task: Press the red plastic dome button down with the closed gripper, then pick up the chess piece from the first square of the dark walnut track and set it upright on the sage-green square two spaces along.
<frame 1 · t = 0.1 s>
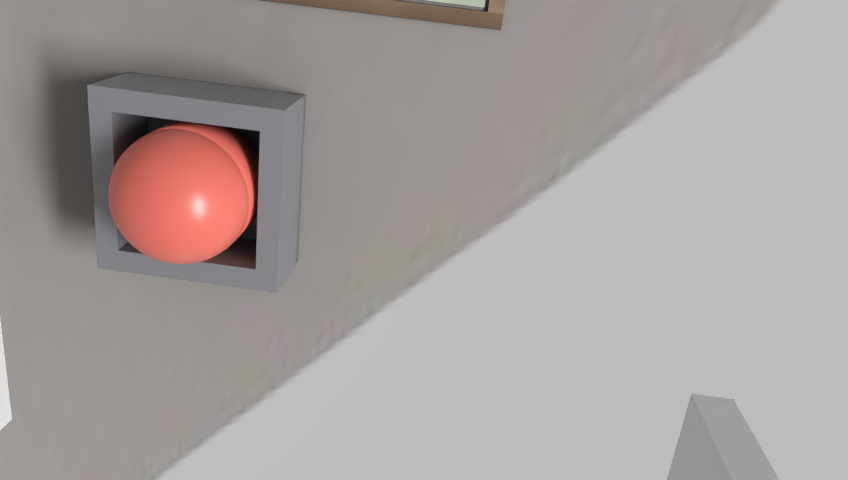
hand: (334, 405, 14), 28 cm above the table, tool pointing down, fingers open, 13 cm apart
dome: (182, 196, 37), point 5 cm above the table, slide at 0.0 cm
dome housing: (216, 170, 42), on the table
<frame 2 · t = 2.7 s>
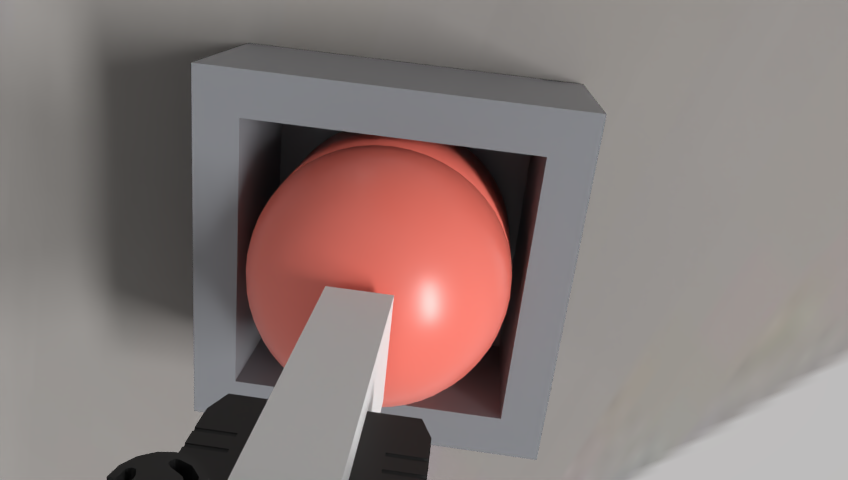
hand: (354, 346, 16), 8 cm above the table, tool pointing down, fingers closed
dome: (380, 273, 19), point 4 cm above the table, slide at 0.8 cm, touching gripper
dome housing: (398, 221, 23), on the table
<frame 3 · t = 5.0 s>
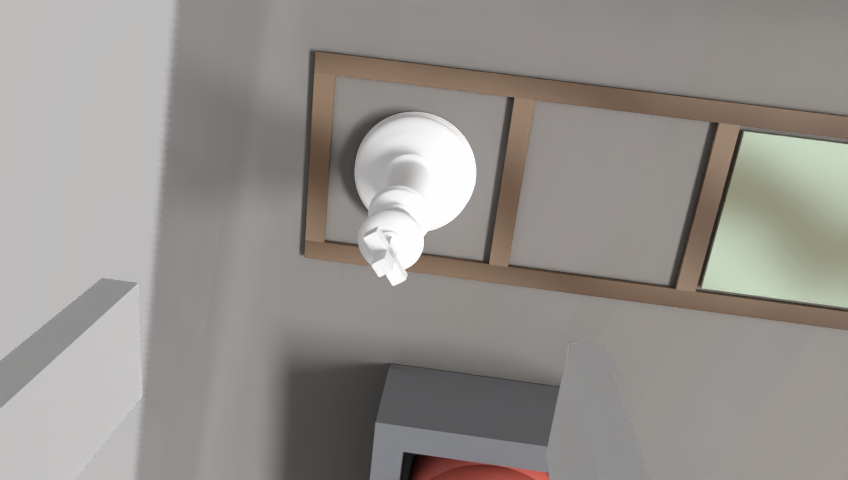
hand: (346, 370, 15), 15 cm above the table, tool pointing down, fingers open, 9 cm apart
track: (607, 196, 29), on the table
chess piece: (415, 170, 30), on the table
dome housing: (484, 469, 34), on the table
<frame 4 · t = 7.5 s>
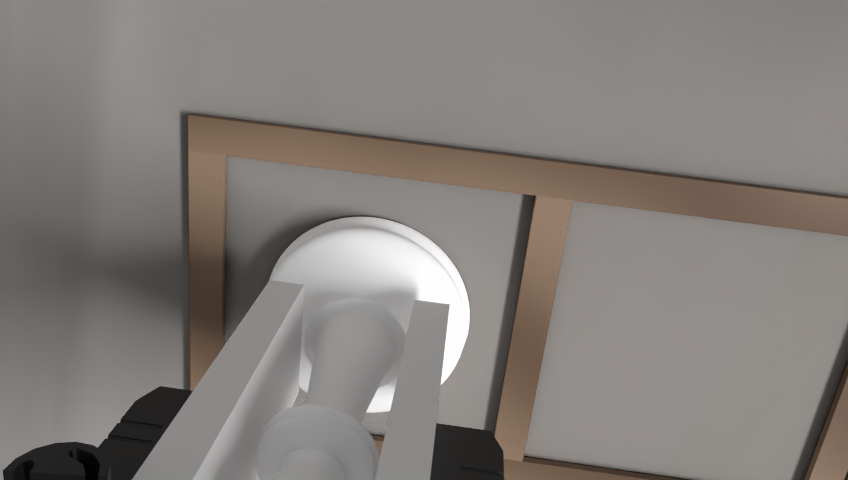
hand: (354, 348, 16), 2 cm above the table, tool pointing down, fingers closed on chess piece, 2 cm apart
track: (692, 356, 17), on the table
chess piece: (368, 308, 18), on the table, touching gripper
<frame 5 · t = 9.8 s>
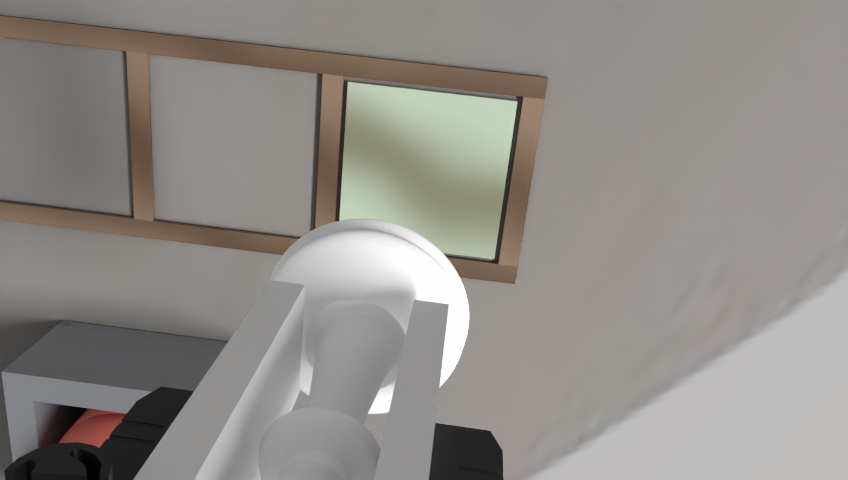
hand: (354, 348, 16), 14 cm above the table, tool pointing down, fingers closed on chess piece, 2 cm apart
track: (235, 149, 30), on the table
chess piece: (368, 310, 18), point 13 cm above the table, touching gripper
dome housing: (172, 425, 35), on the table
when the fingers open (3 cm above the table, at t = 12.1 s): chess piece stays where it is, resting on track.
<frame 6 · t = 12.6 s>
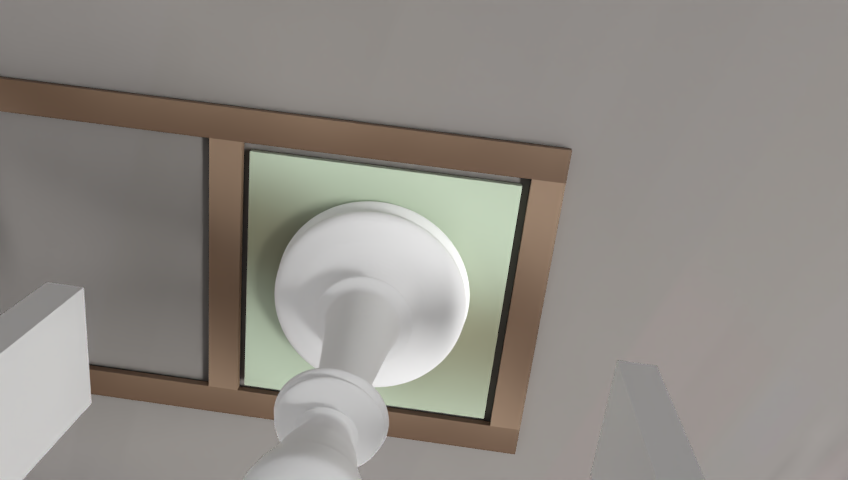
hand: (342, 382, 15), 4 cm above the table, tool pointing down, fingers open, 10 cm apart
track: (81, 249, 19), on the table
chess piece: (374, 289, 19), resting on track
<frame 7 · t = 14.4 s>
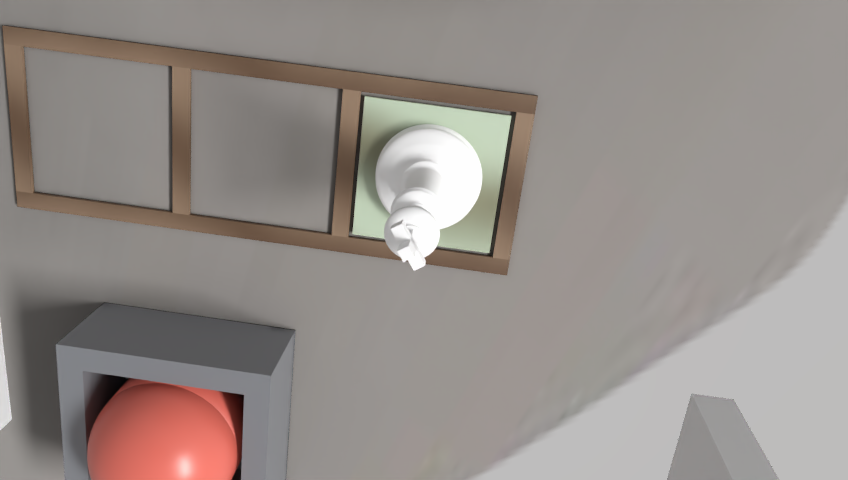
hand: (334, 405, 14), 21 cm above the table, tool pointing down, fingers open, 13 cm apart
track: (264, 153, 34), on the table
dome: (166, 446, 35), point 4 cm above the table, slide at 0.9 cm
chess piece: (429, 175, 34), resting on track
dome housing: (198, 399, 39), on the table
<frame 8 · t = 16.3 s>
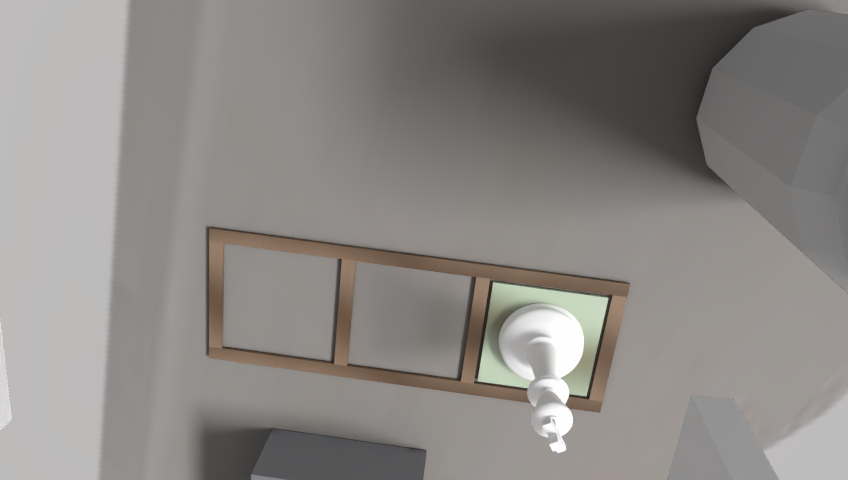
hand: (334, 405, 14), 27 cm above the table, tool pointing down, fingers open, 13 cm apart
track: (409, 321, 43), on the table
chess piece: (540, 339, 43), resting on track
jar: (787, 107, 37), on the table
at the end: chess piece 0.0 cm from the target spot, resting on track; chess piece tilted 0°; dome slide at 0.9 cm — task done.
